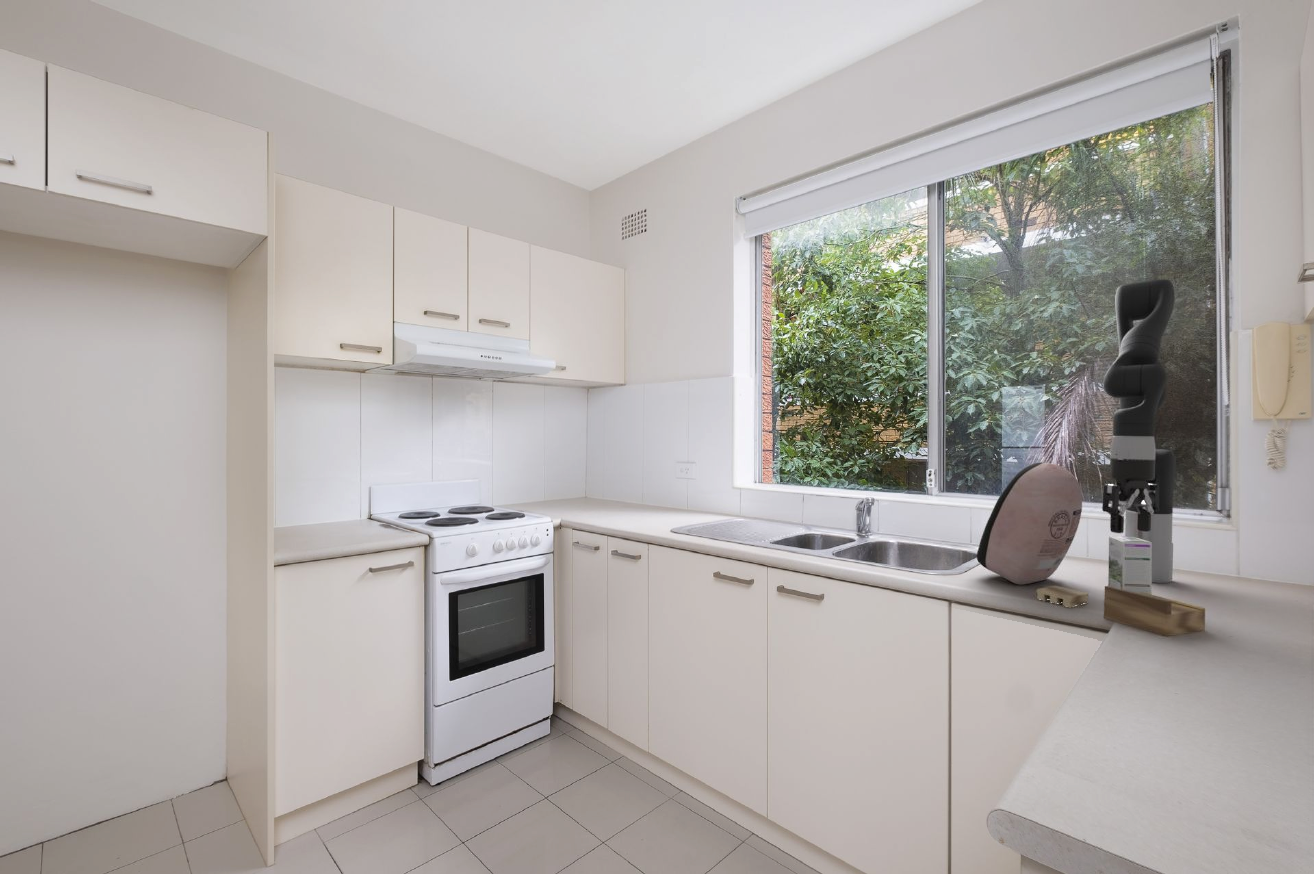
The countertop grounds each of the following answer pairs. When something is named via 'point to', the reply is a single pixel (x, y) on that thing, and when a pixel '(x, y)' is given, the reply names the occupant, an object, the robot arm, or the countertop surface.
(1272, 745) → the countertop surface
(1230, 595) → the countertop surface
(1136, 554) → the syrup box
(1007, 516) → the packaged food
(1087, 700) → the countertop surface
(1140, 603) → the dock
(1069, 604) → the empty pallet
